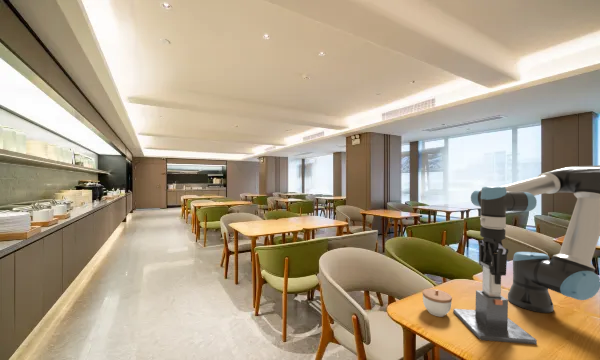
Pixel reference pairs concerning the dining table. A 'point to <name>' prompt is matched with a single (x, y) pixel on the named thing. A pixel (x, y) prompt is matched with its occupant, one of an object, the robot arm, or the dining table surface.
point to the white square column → (488, 280)
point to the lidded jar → (437, 302)
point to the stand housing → (493, 321)
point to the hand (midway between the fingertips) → (491, 289)
